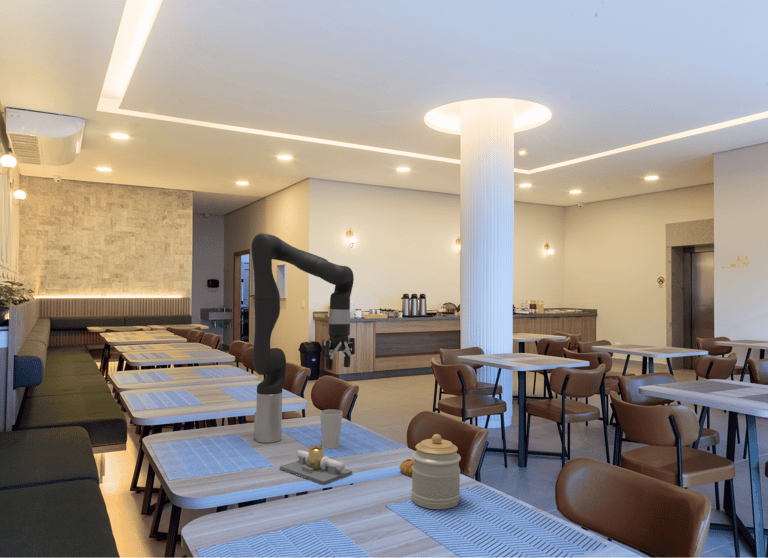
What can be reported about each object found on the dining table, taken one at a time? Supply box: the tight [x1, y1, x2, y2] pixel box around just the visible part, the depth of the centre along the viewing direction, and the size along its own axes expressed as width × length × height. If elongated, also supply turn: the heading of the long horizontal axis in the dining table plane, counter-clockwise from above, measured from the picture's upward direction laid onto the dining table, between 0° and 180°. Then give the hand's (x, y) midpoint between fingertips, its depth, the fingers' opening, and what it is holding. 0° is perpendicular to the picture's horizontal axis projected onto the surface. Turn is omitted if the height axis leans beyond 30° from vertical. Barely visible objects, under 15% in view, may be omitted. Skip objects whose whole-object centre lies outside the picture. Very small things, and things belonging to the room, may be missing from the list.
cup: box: [319, 409, 344, 450], centre depth 190 cm, size 8×8×12 cm
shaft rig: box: [279, 449, 353, 486], centre depth 163 cm, size 19×12×5 cm, turn 51°
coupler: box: [308, 444, 325, 471], centre depth 164 cm, size 4×4×7 cm
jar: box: [410, 433, 462, 510], centre depth 144 cm, size 13×13×18 cm
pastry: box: [399, 458, 414, 478], centre depth 163 cm, size 9×7×4 cm
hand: (338, 368), depth 188 cm, fingers open, 8 cm apart
